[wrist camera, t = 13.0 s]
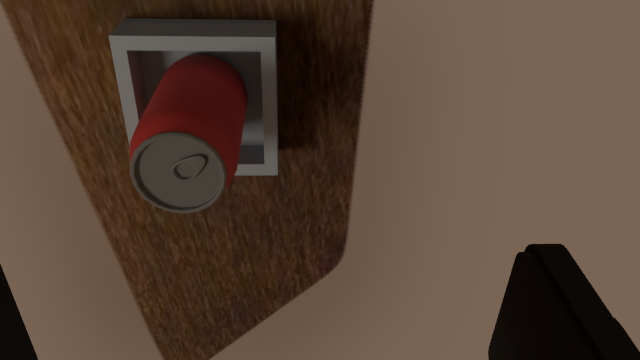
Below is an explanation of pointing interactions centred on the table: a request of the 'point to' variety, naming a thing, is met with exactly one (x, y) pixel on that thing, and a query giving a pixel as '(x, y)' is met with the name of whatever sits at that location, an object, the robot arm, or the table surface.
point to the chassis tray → (213, 40)
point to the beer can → (189, 135)
